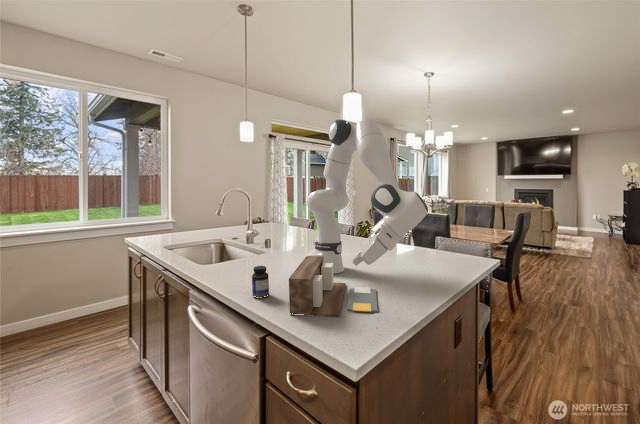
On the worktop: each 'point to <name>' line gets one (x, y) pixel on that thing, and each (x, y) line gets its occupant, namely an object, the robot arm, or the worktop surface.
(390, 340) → the worktop surface
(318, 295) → the outer key
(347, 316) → the worktop surface
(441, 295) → the worktop surface
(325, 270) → the inner key
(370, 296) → the card
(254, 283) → the pill bottle
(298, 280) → the key panel
